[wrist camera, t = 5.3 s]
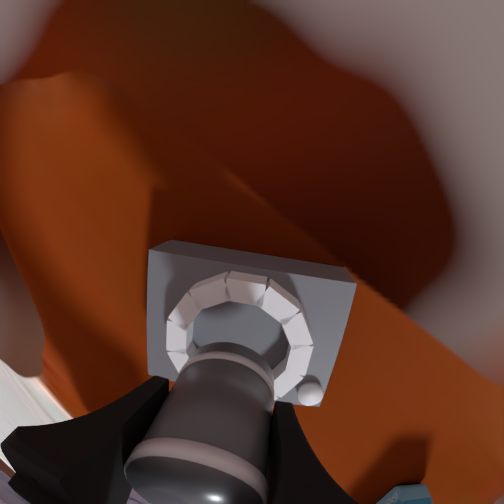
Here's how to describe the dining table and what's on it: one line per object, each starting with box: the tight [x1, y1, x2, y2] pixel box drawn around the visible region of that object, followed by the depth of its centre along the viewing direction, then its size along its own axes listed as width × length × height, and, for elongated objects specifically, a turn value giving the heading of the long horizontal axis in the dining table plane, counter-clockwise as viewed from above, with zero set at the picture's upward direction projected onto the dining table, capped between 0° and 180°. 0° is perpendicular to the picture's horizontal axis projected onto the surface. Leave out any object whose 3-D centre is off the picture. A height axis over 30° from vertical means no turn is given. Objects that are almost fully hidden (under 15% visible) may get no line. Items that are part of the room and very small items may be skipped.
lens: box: [124, 342, 274, 504], centre depth 10 cm, size 5×5×7 cm
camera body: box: [147, 240, 357, 406], centre depth 18 cm, size 12×9×5 cm
